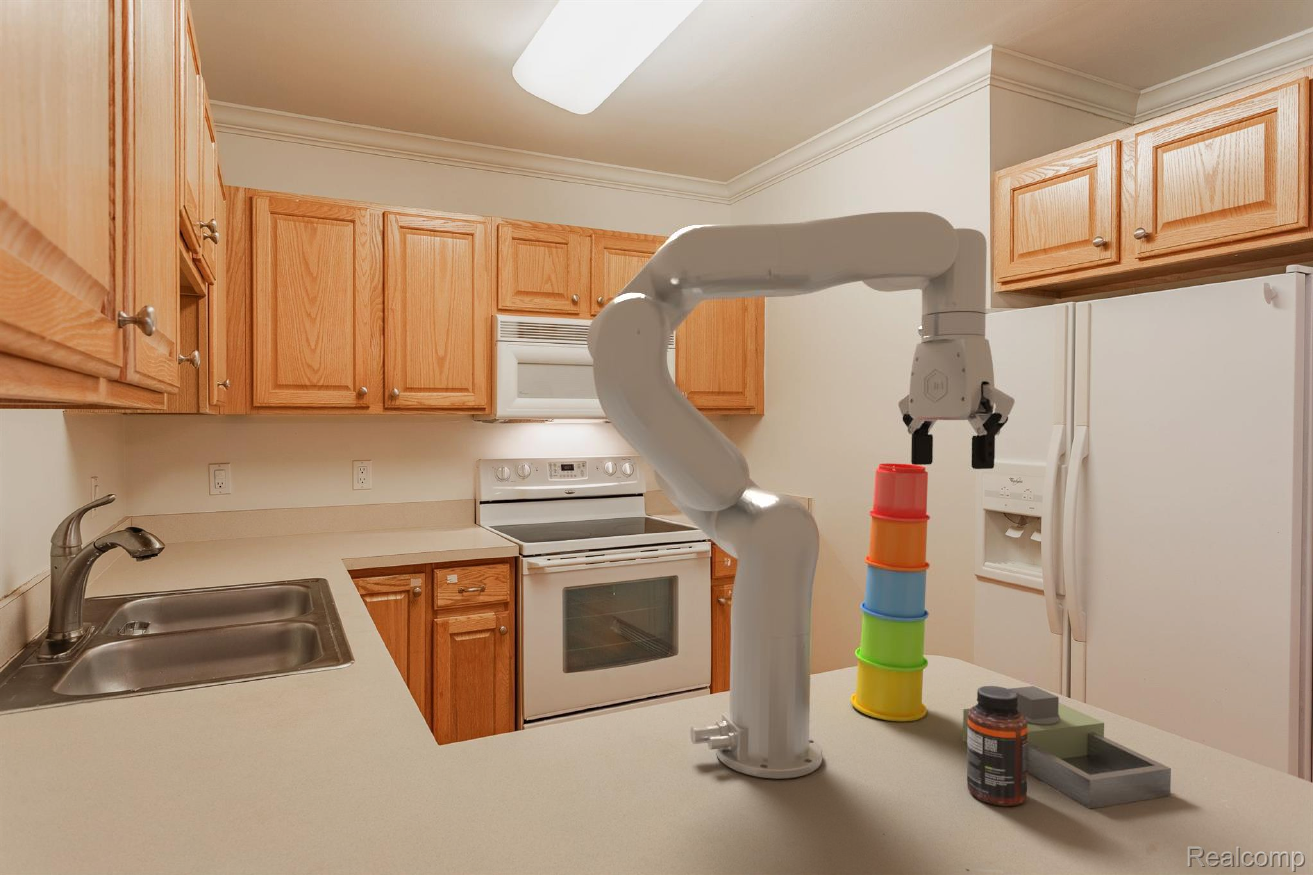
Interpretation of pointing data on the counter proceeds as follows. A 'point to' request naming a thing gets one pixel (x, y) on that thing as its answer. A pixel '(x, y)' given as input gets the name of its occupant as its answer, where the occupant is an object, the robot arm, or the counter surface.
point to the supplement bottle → (997, 748)
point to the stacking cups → (895, 598)
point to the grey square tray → (1101, 773)
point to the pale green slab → (1051, 723)
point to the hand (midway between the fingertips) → (951, 466)
